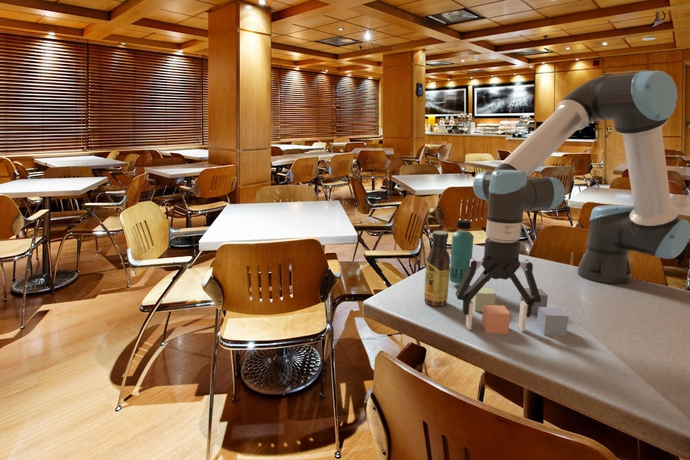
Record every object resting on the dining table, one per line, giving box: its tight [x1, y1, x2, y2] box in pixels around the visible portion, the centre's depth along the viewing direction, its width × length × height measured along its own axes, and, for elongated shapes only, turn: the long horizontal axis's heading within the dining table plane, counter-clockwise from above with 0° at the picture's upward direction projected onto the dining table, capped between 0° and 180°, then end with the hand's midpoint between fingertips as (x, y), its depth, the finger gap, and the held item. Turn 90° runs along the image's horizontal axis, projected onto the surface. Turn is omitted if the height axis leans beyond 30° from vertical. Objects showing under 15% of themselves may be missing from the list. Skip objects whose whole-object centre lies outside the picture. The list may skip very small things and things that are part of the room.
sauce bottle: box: [423, 230, 451, 307], centre depth 122 cm, size 7×6×20 cm
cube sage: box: [472, 286, 497, 312], centre depth 121 cm, size 5×5×5 cm
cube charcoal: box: [519, 287, 549, 314], centre depth 120 cm, size 5×5×5 cm
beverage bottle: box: [449, 219, 475, 285], centre depth 136 cm, size 6×7×20 cm
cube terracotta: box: [481, 304, 511, 335], centre depth 108 cm, size 5×5×5 cm
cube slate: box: [536, 306, 569, 337], centre depth 107 cm, size 5×5×5 cm
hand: (494, 328), depth 108 cm, fingers open, 12 cm apart
